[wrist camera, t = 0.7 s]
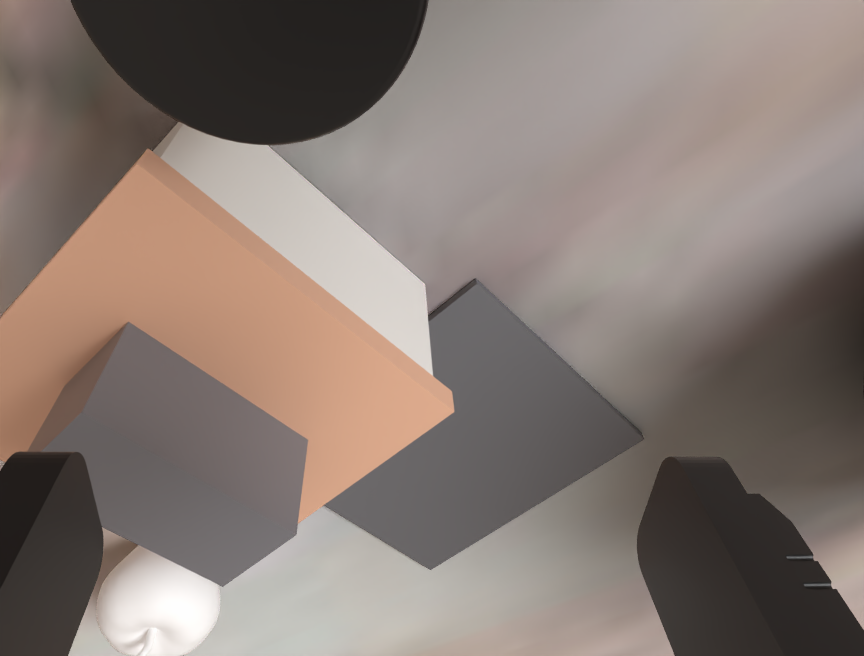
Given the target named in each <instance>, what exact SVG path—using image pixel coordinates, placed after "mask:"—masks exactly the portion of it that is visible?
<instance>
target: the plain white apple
mask: <svg viewBox="0 0 864 656" xmlns="http://www.w3.org/2000/svg"><path fill="white" fill-rule="evenodd" d="M220 601H221V600H220V591H219V585H218V584H216V583H214V582H212V581H210V580H208V579H206V578H204V577H202V576H200V575H198V574H196V573H194V572H192V571H190V570H188V569H186V568H184V567H182V566H180V565H178V564H176V563H174V562H172V561H170V560H168V559H166V558H164V557H162V556H160V555H157V554H155V553H153V552H151V551H149V550H147V549H145V548H143V547H141V546H139V545H138V546H137V547H136V548H135V549H134V550H133V551H131V552H130V553H129V554H128V555H127V556H126V557H125V558H124V559H123V560H122V561H121V562H120V563H119V564H118V565H117V566H116V567H115V568H114V569H113V570H112V571H111V572H110V573H109V575H108V576H107V577H106V578H105V580H104V582H103V584H102V586H101V588H100V591H99V595H98V598H97V604H96V611H97V622H98V625H99V628H100V630H101V632H102V634H103V635H104V636H105V638H106V639H107V640H108V642H109V643H110V644H111V646H112V647H113V648H115V649H116V650H117V651H118V652H121V653H124V654H126V655H130V656H182V655H185V654H187V653H189V652H191V651H192V650H194V649H195V648H196V647H197V646H199V645H200V644H201V643H202V642H203V640H204V639H205V638H206V637H207V636H208V634H209V633H210V632H211V630H212V629H213V627H214V625H215V624H216V621H217V619H218V615H219V610H220Z"/></svg>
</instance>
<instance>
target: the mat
mask: <svg viewBox="0 0 864 656" xmlns="http://www.w3.org/2000/svg"><path fill="white" fill-rule="evenodd" d="M428 324H429V335H430V347H431V358H432V370H433V376H434V377H435V378H436V379H437V380H439V381H440V382H441V383H442V384H444V385H445V386H446V387H447V388H449V389H450V390H451V391H452V395H453V403H454V413H452V414H451V415H449V416H448V417H447V418H445V419H444V420H442V421H441V422H440V423H438V424H437V425H435V426H434V427H433V428H431V429H430V430H428V431H427V432H426V433H424V434H423V435H421V436H420V437H419V438H417V439H416V440H414V441H413V442H412V443H410V444H409V445H407V446H406V447H405V448H403V449H402V450H400V451H399V452H398V453H396V454H395V455H393V456H392V457H391V458H389V459H388V460H386V461H385V462H384V463H382V464H381V465H379V466H378V467H377V468H375V469H374V470H372V471H371V472H370V473H368V474H367V475H365V476H364V477H363V478H361V479H360V480H358V481H357V482H356V483H354V484H353V485H351V486H350V487H348V488H347V489H346V490H344V491H343V492H341V493H340V494H339V495H337V496H336V497H334V498H333V499H332V500H330V501H329V502H327V503H326V504H325V506H326V507H328V508H330V509H331V510H333V511H335V512H336V513H338V514H339V515H341V516H343V517H344V518H346V519H348V520H349V521H351V522H353V523H354V524H356V525H357V526H359V527H361V528H362V529H364V530H366V531H367V532H369V533H371V534H372V535H374V536H375V537H377V538H379V539H380V540H382V541H384V542H385V543H387V544H389V545H390V546H392V547H393V548H395V549H397V550H398V551H400V552H402V553H403V554H405V555H407V556H408V557H410V558H412V559H413V560H415V561H416V562H418V563H420V564H421V565H423V566H425V567H426V568H428V569H430V570H431V569H433V568H435V567H436V566H438V565H439V564H441V563H443V562H444V561H446V560H448V559H449V558H451V557H453V556H454V555H456V554H457V553H459V552H461V551H462V550H464V549H466V548H467V547H469V546H470V545H472V544H474V543H475V542H477V541H479V540H480V539H482V538H484V537H485V536H487V535H488V534H490V533H492V532H493V531H495V530H497V529H498V528H500V527H501V526H503V525H505V524H506V523H508V522H510V521H511V520H513V519H515V518H516V517H518V516H519V515H521V514H523V513H524V512H526V511H528V510H529V509H531V508H532V507H534V506H536V505H537V504H539V503H541V502H542V501H544V500H546V499H547V498H549V497H550V496H552V495H554V494H555V493H557V492H559V491H560V490H562V489H564V488H565V487H567V486H568V485H570V484H572V483H573V482H575V481H577V480H578V479H580V478H581V477H583V476H585V475H586V474H588V473H590V472H591V471H593V470H595V469H596V468H598V467H599V466H601V465H603V464H604V463H606V462H608V461H609V460H611V459H612V458H614V457H616V456H617V455H619V454H621V453H622V452H624V451H626V450H627V449H629V448H630V447H632V446H634V445H635V444H637V443H639V442H640V441H642V440H643V439H644V438H643V435H642V433H641V432H640V431H639V430H638V429H637V428H636V427H634V426H633V425H632V424H631V423H630V422H629V421H628V420H627V419H626V418H625V417H624V416H623V415H622V414H621V413H619V412H618V411H617V410H616V409H615V408H614V407H613V406H612V405H611V404H610V403H609V402H608V401H607V400H606V399H604V398H603V397H602V396H601V395H600V394H599V393H598V392H597V391H596V390H595V389H594V388H593V387H592V386H591V385H589V384H588V383H587V382H586V381H585V380H584V379H583V378H582V377H581V376H580V375H579V374H578V373H577V372H576V371H574V370H573V369H572V368H571V367H570V366H569V365H568V364H567V363H566V362H565V361H564V360H563V359H562V358H561V357H559V356H558V355H557V354H556V353H555V352H554V351H553V350H552V349H551V348H550V347H549V346H548V345H547V344H546V343H544V342H543V341H542V340H541V339H540V338H539V337H538V336H537V335H536V334H535V333H534V332H533V331H532V330H531V329H529V328H528V327H527V326H526V325H525V324H524V323H523V322H522V321H521V320H520V319H519V318H518V317H517V316H516V315H514V314H513V313H512V312H511V311H510V310H509V309H508V308H507V307H506V306H505V305H504V304H503V303H502V302H501V301H499V300H498V299H497V298H496V297H495V296H494V295H493V294H492V293H491V292H490V291H489V290H488V289H487V288H486V287H484V286H483V285H482V284H481V283H480V282H479V281H478V280H477V279H474V280H473V281H472V282H471V283H469V284H468V285H467V286H466V287H464V288H463V289H462V290H461V291H459V292H458V293H457V294H455V295H454V296H453V297H452V298H450V299H449V300H448V301H447V302H445V303H444V304H443V305H442V306H440V307H439V308H438V309H437V310H435V311H434V312H433V313H432V314H430V315H429V316H428Z"/></svg>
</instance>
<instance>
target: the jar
mask: <svg viewBox="0 0 864 656" xmlns="http://www.w3.org/2000/svg"><path fill="white" fill-rule="evenodd" d="M428 1H429V0H71V3H72V5H73V8H74V10H75V12H76V14H77V16H78V18H79V19H80V21H81V23H82V25H83V27H84V29H85V30H86V32H87V34H88V35H89V37H90V38H91V40H92V42H93V43H94V45H95V46H96V47H97V49H98V50H99V52H100V53H101V54H102V56H103V57H104V58H105V60H106V61H107V62H108V63H109V64H110V66H111V67H112V68H113V69H114V70H115V71H116V73H117V74H118V75H119V76H120V77H121V78H122V79H123V80H124V81H125V82H126V83H127V84H128V85H129V86H130V87H131V88H132V89H133V90H135V91H136V92H137V93H138V94H139V95H140V96H142V97H143V98H144V99H145V100H146V101H148V102H149V103H151V104H152V105H153V106H155V107H156V108H157V109H159V110H160V111H162V112H163V113H165V114H167V115H168V116H170V117H172V118H173V119H175V120H177V121H179V122H181V123H183V124H185V125H186V126H188V127H190V128H193V129H195V130H198V131H200V132H203V133H205V134H208V135H211V136H214V137H217V138H221V139H224V140H229V141H233V142H238V143H245V144H253V145H283V144H292V143H298V142H303V141H307V140H311V139H315V138H318V137H321V136H323V135H326V134H329V133H332V132H334V131H336V130H338V129H340V128H342V127H344V126H346V125H347V124H349V123H350V122H352V121H354V120H355V119H357V118H358V117H360V116H361V115H362V114H364V113H365V112H366V111H367V110H369V109H370V108H371V107H372V106H373V105H374V104H376V103H377V102H378V101H379V100H380V99H381V98H382V97H383V96H384V94H385V93H386V92H387V91H388V90H389V89H390V88H391V86H392V85H393V84H394V82H395V81H396V80H397V78H398V77H399V75H400V74H401V72H402V71H403V69H404V68H405V66H406V64H407V62H408V60H409V59H410V57H411V55H412V53H413V50H414V48H415V46H416V44H417V41H418V38H419V36H420V33H421V30H422V27H423V23H424V20H425V16H426V11H427V7H428Z"/></svg>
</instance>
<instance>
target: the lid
mask: <svg viewBox="0 0 864 656" xmlns="http://www.w3.org/2000/svg"><path fill="white" fill-rule="evenodd" d="M452 413H454V403H453V395H452V391H451V390H450V389H449V388H447V387H446V386H445V385H444V384H442V383H441V382H440V381H439V380H437V379H436V378H435V377H434V376H432V375H431V374H430V373H429V372H427V371H426V370H425V369H424V368H422V367H421V366H420V365H419V364H417V363H416V362H415V361H414V360H412V359H411V358H410V357H409V356H407V355H406V354H405V353H404V352H402V351H401V350H400V349H399V348H397V347H396V346H395V345H394V344H392V343H391V342H390V341H389V340H387V339H386V338H385V337H384V336H382V335H381V334H380V333H379V332H377V331H376V330H375V329H374V328H372V327H371V326H370V325H369V324H367V323H366V322H365V321H364V320H362V319H361V318H360V317H359V316H357V315H356V314H355V313H354V312H352V311H351V310H350V309H349V308H347V307H346V306H345V305H344V304H342V303H341V302H340V301H339V300H337V299H336V298H335V297H334V296H332V295H331V294H330V293H329V292H327V291H326V290H325V289H324V288H322V287H321V286H320V285H319V284H317V283H316V282H315V281H314V280H312V279H311V278H310V277H309V276H307V275H306V274H305V273H304V272H302V271H301V270H300V269H299V268H297V267H296V266H295V265H294V264H292V263H291V262H290V261H289V260H287V259H286V258H285V257H284V256H282V255H281V254H280V253H279V252H277V251H276V250H275V249H274V248H272V247H271V246H270V245H269V244H267V243H266V242H265V241H264V240H262V239H261V238H260V237H259V236H257V235H256V234H255V233H254V232H252V231H251V230H250V229H249V228H247V227H246V226H245V225H244V224H242V223H241V222H240V221H239V220H237V219H236V218H235V217H234V216H232V215H231V214H230V213H229V212H227V211H226V210H225V209H224V208H222V207H221V206H220V205H219V204H217V203H216V202H215V201H214V200H212V199H211V198H210V197H209V196H207V195H206V194H205V193H204V192H202V191H201V190H200V189H199V188H197V187H196V186H195V185H194V184H192V183H191V182H190V181H189V180H187V179H186V178H185V177H184V176H182V175H181V174H180V173H179V172H177V171H176V170H175V169H174V168H172V167H171V166H170V165H169V164H167V163H166V162H165V161H164V160H162V159H161V158H160V157H159V156H157V155H156V154H155V153H154V152H152V151H151V150H150V149H149V148H147V150H146V151H145V152H144V153H143V154H142V155H141V156H140V158H139V159H138V160H137V161H136V162H135V163H134V164H133V166H132V167H131V168H130V169H129V170H128V171H127V172H126V174H125V175H124V176H123V177H122V178H121V179H120V180H119V182H118V183H117V184H116V185H115V186H114V187H113V188H112V190H111V191H110V192H109V193H108V194H107V195H106V197H105V198H104V199H103V200H102V201H101V202H100V203H99V205H98V206H97V207H96V208H95V209H94V210H93V211H92V213H91V214H90V215H89V216H88V217H87V218H86V219H85V221H84V222H83V223H82V224H81V225H80V226H79V227H78V229H77V230H76V231H75V232H74V233H73V234H72V235H71V237H70V238H69V239H68V240H67V241H66V242H65V243H64V245H63V246H62V247H61V248H60V249H59V250H58V251H57V253H56V254H55V255H54V256H53V257H52V258H51V259H50V261H49V262H48V263H47V264H46V265H45V266H44V267H43V269H42V270H41V271H40V272H39V273H38V274H37V275H36V277H35V278H34V279H33V280H32V281H31V282H30V283H29V285H28V286H27V287H26V288H25V289H24V290H23V292H22V293H21V294H20V295H19V296H18V297H17V298H16V300H15V301H14V302H13V303H12V304H11V305H10V306H9V308H8V309H7V310H6V311H5V312H4V313H3V314H2V316H1V317H0V460H2V461H4V462H6V461H7V460H8V458H9V457H10V456H11V455H12V454H14V453H15V452H19V451H22V452H79V453H81V454H82V455H83V457H84V459H85V462H86V465H87V469H88V473H89V477H90V481H91V485H92V489H93V494H94V498H95V502H96V506H97V510H98V514H99V518H100V522H101V526H102V527H103V528H105V529H107V530H109V531H111V532H113V533H115V534H117V535H119V536H121V537H123V538H125V539H127V540H129V541H131V542H133V543H135V544H137V545H139V546H141V547H143V548H145V549H147V550H149V551H151V552H153V553H155V554H157V555H160V556H162V557H164V558H166V559H168V560H170V561H172V562H174V563H176V564H178V565H180V566H182V567H184V568H186V569H188V570H190V571H192V572H194V573H196V574H198V575H200V576H202V577H204V578H206V579H208V580H210V581H212V582H214V583H216V584H218V585H220V586H222V587H223V586H225V585H226V584H227V583H229V582H230V581H232V580H233V579H234V578H236V577H237V576H239V575H240V574H242V573H243V572H244V571H246V570H247V569H249V568H250V567H251V566H253V565H254V564H256V563H257V562H259V561H260V560H261V559H263V558H264V557H266V556H267V555H268V554H270V553H271V552H273V551H274V550H276V549H277V548H278V547H280V546H281V545H283V544H284V543H285V542H287V541H288V540H290V539H291V538H293V537H294V536H295V535H296V534H297V526H298V523H299V522H301V521H302V520H304V519H305V518H306V517H308V516H309V515H311V514H312V513H313V512H315V511H316V510H318V509H319V508H320V507H322V506H323V505H325V504H326V503H327V502H329V501H330V500H332V499H333V498H334V497H336V496H337V495H339V494H340V493H341V492H343V491H344V490H346V489H347V488H348V487H350V486H351V485H353V484H354V483H356V482H357V481H358V480H360V479H361V478H363V477H364V476H365V475H367V474H368V473H370V472H371V471H372V470H374V469H375V468H377V467H378V466H379V465H381V464H382V463H384V462H385V461H386V460H388V459H389V458H391V457H392V456H393V455H395V454H396V453H398V452H399V451H400V450H402V449H403V448H405V447H406V446H407V445H409V444H410V443H412V442H413V441H414V440H416V439H417V438H419V437H420V436H421V435H423V434H424V433H426V432H427V431H428V430H430V429H431V428H433V427H434V426H435V425H437V424H438V423H440V422H441V421H442V420H444V419H445V418H447V417H448V416H449V415H451V414H452Z"/></svg>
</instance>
